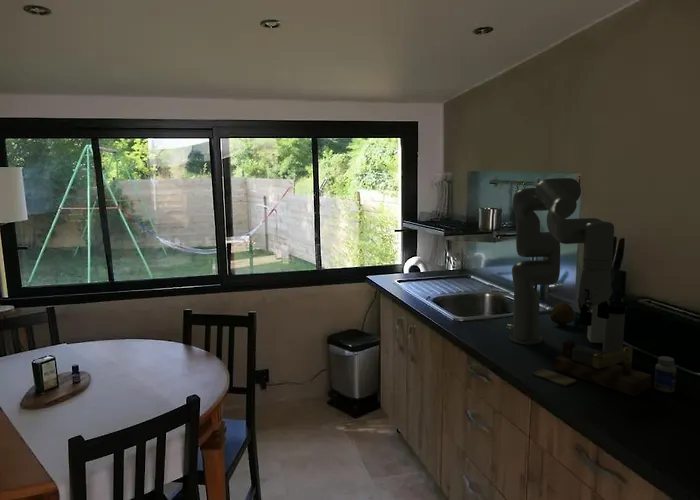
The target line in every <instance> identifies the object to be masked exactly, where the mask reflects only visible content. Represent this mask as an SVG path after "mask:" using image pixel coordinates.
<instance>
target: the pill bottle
mask: <svg viewBox="0 0 700 500" xmlns="http://www.w3.org/2000/svg"><path fill="white" fill-rule="evenodd" d="M677 369H678V368H677V367H676V366H675V359H674V357H670V356H666V355H665V356H664V355H661V356H659V357H658V360H657V363H656V364H655V370H654V385H653V386H654V388H655V390H658V391H659V392H662V393H673V392H675V391H676V383H677V382H676V381H677V372H678V371H677Z"/></svg>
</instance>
